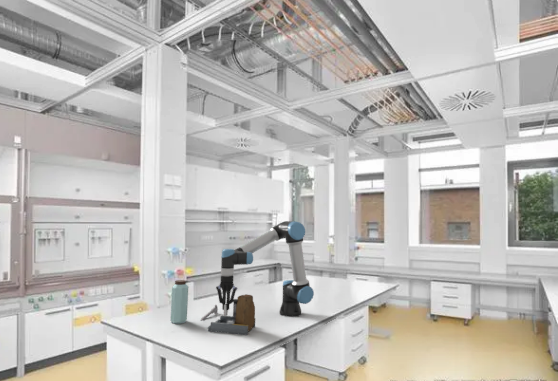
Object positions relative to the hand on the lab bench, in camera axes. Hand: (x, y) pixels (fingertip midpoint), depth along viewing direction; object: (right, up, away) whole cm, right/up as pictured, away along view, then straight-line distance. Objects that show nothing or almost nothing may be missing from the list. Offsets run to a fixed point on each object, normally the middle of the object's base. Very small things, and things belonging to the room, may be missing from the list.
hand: (225, 315), depth 216 cm
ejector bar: (+6, -7, -2) cm, 9 cm away
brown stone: (+12, -8, -3) cm, 14 cm away
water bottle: (-31, -8, +10) cm, 33 cm away
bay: (+5, -7, -2) cm, 9 cm away
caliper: (-14, -9, +24) cm, 29 cm away
